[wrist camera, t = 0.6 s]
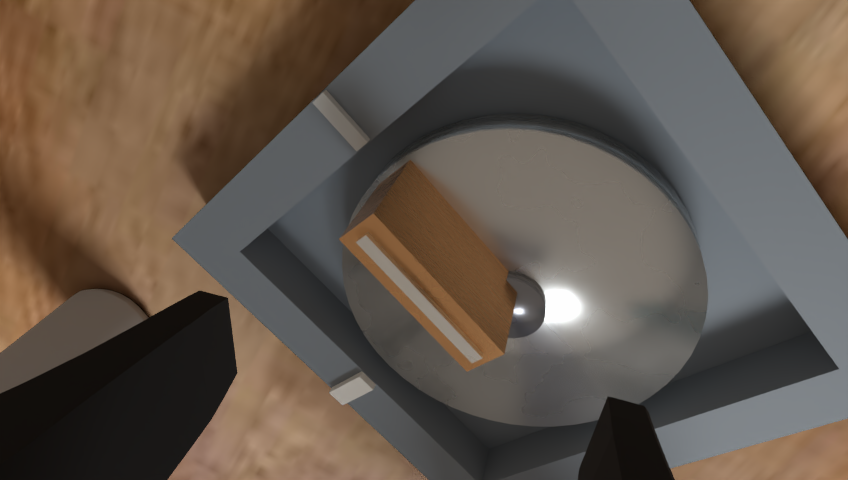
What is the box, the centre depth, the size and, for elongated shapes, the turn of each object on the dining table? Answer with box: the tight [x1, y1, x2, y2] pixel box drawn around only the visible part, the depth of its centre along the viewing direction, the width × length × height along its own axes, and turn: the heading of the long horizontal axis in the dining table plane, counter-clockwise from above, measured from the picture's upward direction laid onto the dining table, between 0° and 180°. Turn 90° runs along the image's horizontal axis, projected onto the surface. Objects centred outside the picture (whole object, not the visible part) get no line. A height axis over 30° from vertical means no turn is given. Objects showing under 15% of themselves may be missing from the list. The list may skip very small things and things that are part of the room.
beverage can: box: [0, 289, 148, 393], centre depth 24 cm, size 5×5×12 cm
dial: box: [339, 113, 708, 427], centre depth 18 cm, size 12×12×5 cm
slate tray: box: [172, 0, 848, 480], centre depth 20 cm, size 18×18×3 cm
